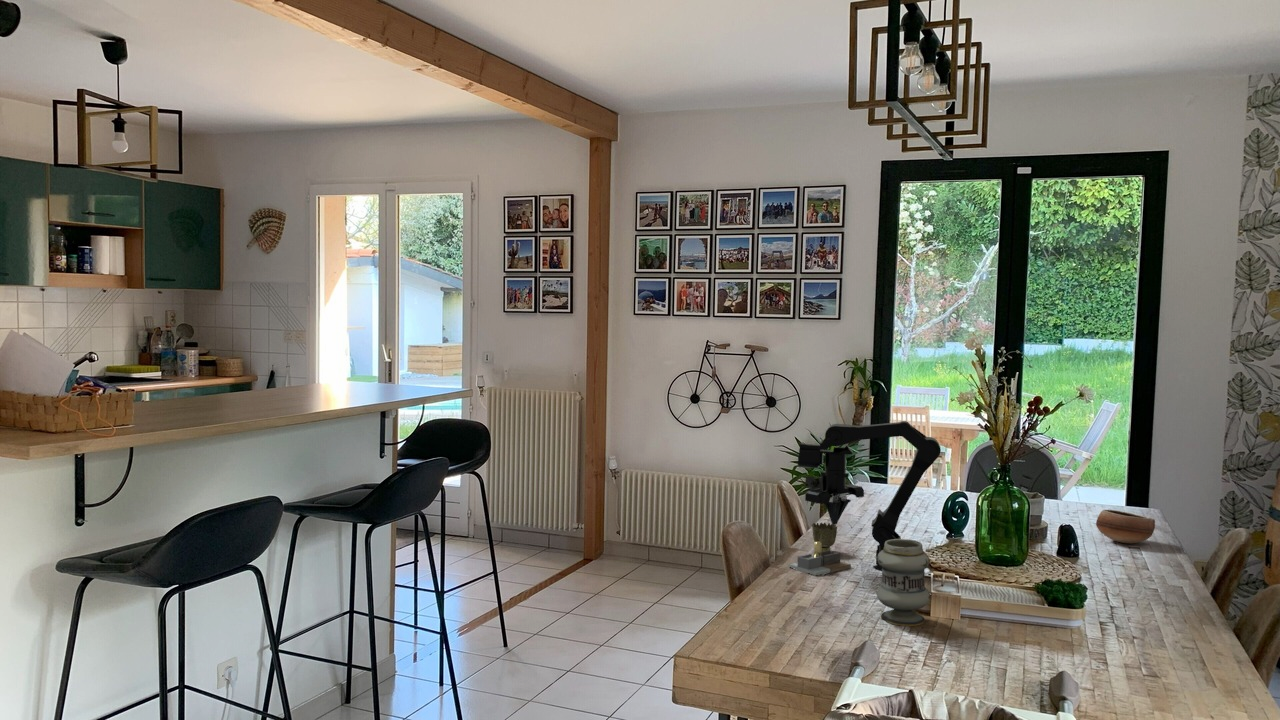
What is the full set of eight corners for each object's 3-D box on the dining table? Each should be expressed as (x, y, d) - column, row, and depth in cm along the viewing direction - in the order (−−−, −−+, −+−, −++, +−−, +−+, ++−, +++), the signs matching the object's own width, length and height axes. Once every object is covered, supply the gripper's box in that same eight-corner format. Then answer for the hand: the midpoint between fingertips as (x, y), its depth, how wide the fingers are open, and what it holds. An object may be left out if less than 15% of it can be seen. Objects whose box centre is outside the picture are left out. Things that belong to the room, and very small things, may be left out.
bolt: (823, 564, 264) (823, 542, 263) (808, 567, 260) (808, 545, 260) (816, 562, 265) (817, 541, 265) (801, 565, 262) (802, 544, 262)
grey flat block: (850, 567, 265) (850, 554, 265) (831, 572, 260) (831, 558, 260) (823, 560, 273) (823, 547, 273) (804, 564, 268) (804, 551, 268)
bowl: (1164, 546, 292) (1165, 514, 292) (1126, 550, 286) (1127, 517, 286) (1121, 535, 307) (1122, 504, 306) (1084, 539, 301) (1085, 507, 300)
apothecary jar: (865, 614, 224) (866, 538, 223) (908, 609, 228) (909, 534, 227) (896, 630, 212) (898, 550, 212) (941, 624, 217) (942, 546, 216)
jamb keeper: (830, 572, 260) (830, 558, 260) (816, 575, 256) (816, 561, 256) (803, 564, 268) (803, 551, 268) (789, 567, 264) (789, 554, 264)
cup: (839, 554, 279) (839, 527, 279) (813, 554, 280) (814, 527, 279) (834, 548, 287) (834, 522, 286) (809, 548, 287) (810, 521, 287)
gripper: (835, 462, 279) (834, 515, 280) (791, 468, 267) (790, 523, 268) (865, 467, 270) (864, 522, 271) (821, 473, 259) (820, 530, 259)
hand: (834, 524), depth 267 cm, fingers closed
